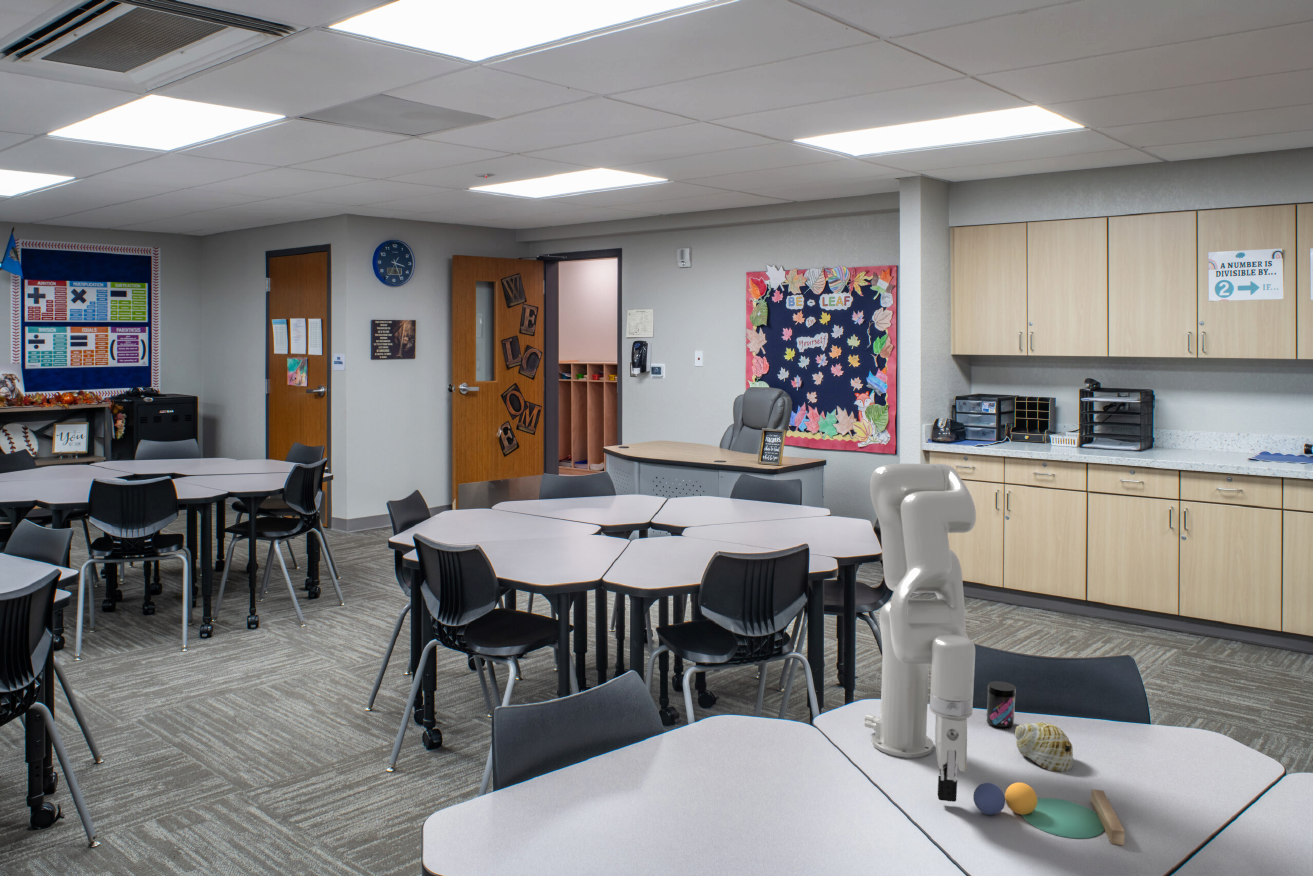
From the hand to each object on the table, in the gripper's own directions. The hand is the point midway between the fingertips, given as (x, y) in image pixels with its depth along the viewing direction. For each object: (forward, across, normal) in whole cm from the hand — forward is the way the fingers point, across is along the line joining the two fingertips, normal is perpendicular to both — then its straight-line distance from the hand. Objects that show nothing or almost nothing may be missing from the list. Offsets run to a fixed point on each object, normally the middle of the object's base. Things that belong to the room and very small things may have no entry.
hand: (946, 798), depth 175 cm
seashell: (+2, +25, -21) cm, 32 cm away
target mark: (+1, 0, -20) cm, 20 cm away
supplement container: (+2, +41, -15) cm, 44 cm away
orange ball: (-1, 0, -13) cm, 13 cm away
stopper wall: (+1, 0, -28) cm, 28 cm away
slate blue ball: (-1, -1, -7) cm, 8 cm away
